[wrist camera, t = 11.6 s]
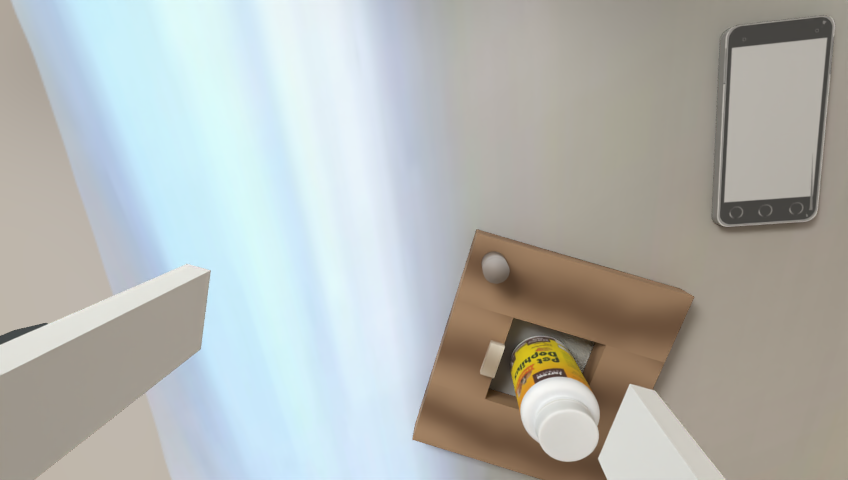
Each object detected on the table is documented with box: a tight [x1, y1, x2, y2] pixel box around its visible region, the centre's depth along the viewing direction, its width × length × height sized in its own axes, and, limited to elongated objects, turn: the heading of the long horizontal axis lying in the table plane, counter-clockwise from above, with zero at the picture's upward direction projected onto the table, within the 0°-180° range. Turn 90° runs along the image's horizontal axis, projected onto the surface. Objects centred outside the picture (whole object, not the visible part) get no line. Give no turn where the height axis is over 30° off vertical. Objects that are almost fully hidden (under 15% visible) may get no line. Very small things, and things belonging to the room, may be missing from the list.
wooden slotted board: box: [413, 229, 694, 480], centre depth 35 cm, size 20×18×4 cm
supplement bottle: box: [510, 336, 600, 462], centre depth 32 cm, size 6×6×10 cm
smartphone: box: [712, 15, 835, 227], centre depth 31 cm, size 7×1×15 cm
